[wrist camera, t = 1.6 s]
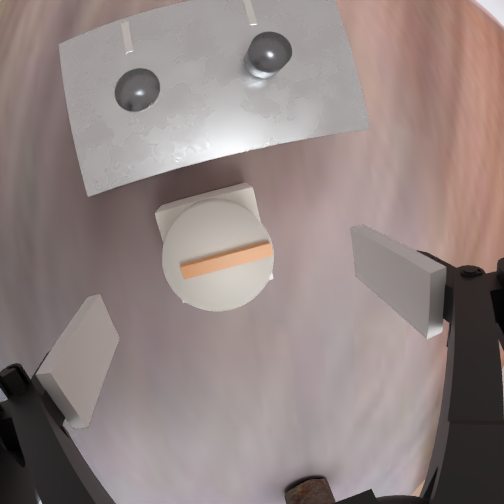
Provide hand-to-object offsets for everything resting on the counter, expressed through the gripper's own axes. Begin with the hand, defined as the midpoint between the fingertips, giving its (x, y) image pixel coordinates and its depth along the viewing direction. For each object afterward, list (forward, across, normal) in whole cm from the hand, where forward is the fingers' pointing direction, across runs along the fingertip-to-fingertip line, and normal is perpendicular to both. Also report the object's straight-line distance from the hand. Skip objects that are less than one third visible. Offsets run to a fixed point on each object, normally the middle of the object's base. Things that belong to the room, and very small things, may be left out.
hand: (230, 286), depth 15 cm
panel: (+12, +2, +13) cm, 18 cm away
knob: (+12, 0, 0) cm, 12 cm away
